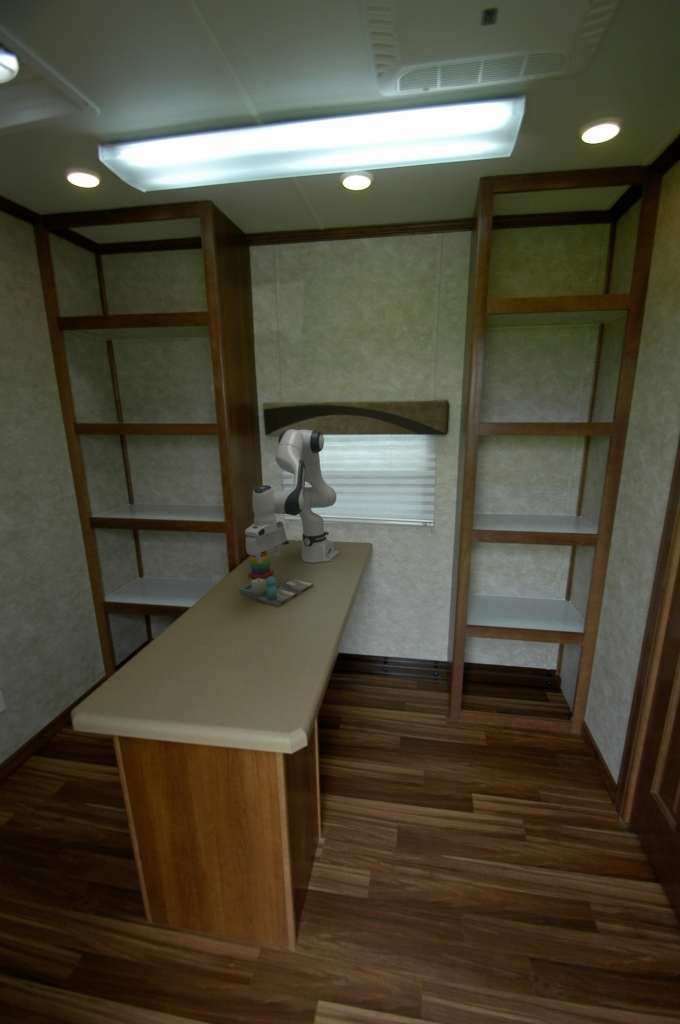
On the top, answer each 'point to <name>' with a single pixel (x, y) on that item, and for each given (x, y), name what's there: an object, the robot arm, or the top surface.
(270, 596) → the pawn
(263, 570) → the stacking bear
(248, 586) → the tray
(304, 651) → the top surface
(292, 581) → the board
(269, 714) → the top surface
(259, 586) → the die
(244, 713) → the top surface
